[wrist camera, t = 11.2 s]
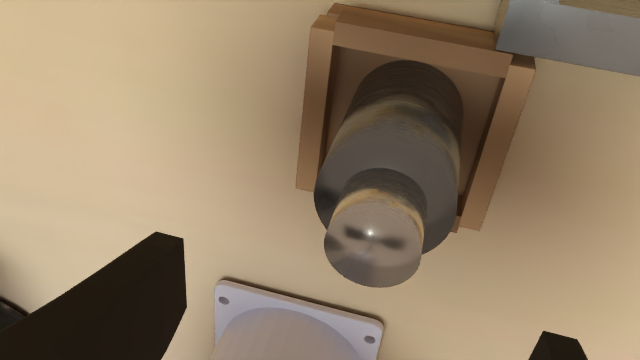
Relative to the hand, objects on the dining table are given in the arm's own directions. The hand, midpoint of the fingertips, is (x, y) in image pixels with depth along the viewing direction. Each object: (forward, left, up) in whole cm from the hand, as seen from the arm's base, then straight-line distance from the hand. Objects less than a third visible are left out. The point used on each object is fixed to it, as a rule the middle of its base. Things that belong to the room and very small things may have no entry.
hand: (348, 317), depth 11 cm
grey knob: (0, 0, -9) cm, 9 cm away
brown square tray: (0, 0, -10) cm, 10 cm away
